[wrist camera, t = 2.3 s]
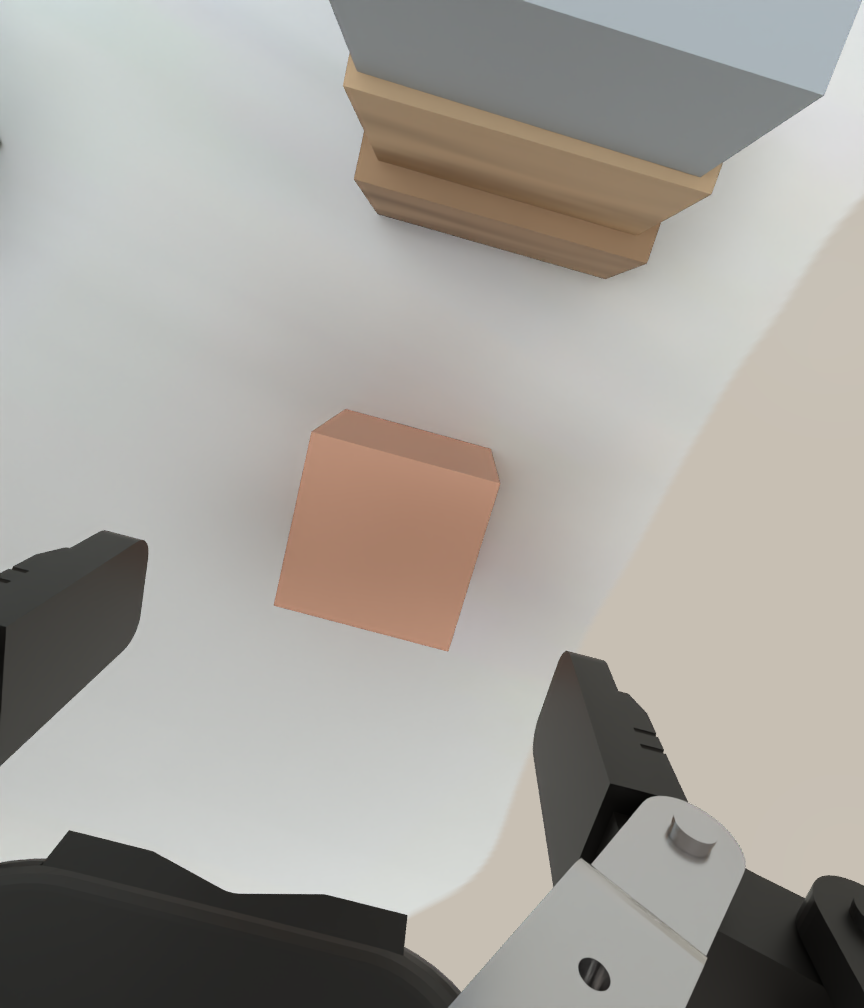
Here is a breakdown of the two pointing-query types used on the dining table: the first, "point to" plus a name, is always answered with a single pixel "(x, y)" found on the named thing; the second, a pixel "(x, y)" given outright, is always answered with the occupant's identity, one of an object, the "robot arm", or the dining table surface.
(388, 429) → the cube
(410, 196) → the tower base
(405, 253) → the dining table surface
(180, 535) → the dining table surface
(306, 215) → the dining table surface
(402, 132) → the tower mid
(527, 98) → the tower top
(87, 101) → the dining table surface
